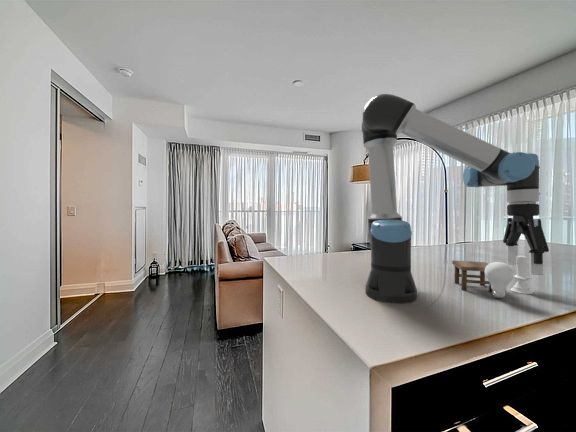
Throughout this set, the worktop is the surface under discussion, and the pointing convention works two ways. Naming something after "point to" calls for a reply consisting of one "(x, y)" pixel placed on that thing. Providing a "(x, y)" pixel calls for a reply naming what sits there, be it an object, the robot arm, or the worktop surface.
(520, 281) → the candle
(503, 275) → the light bulb
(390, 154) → the robot arm
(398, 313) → the worktop surface
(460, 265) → the small wooden table
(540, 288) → the worktop surface
